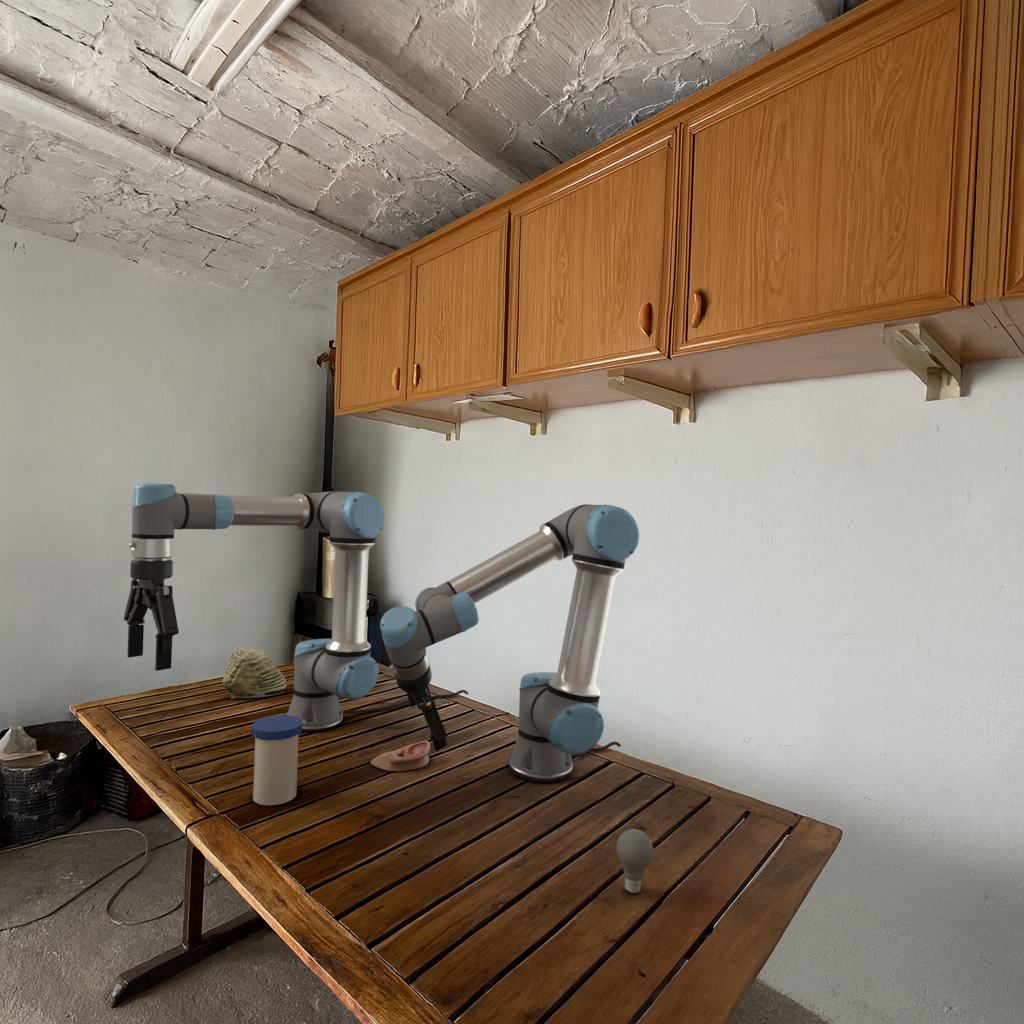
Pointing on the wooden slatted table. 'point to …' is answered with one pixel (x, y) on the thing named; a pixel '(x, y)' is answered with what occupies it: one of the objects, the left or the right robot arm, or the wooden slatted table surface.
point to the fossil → (252, 674)
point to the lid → (277, 727)
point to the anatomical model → (404, 757)
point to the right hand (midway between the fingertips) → (428, 724)
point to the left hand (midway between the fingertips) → (148, 662)
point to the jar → (275, 770)
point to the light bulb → (634, 857)
